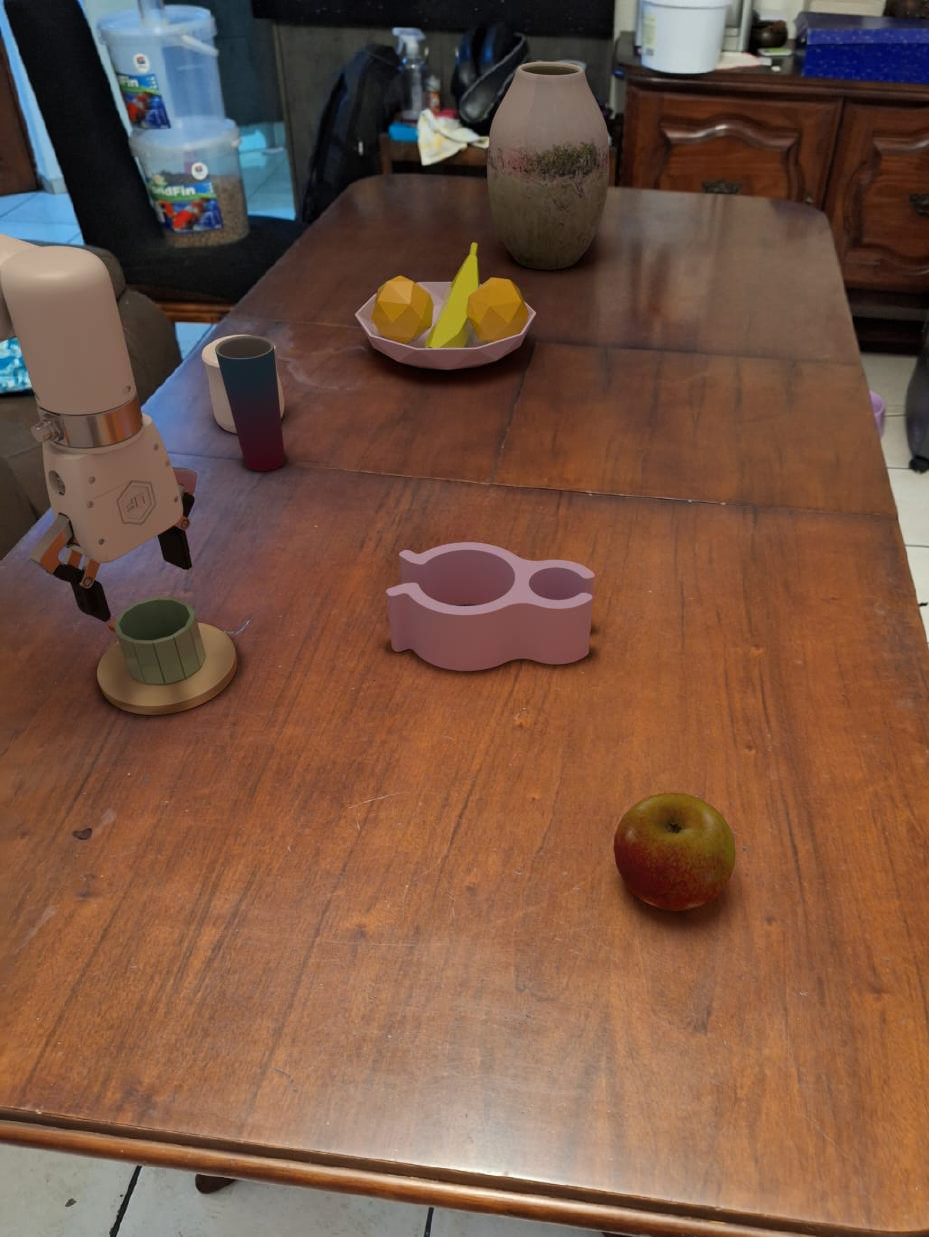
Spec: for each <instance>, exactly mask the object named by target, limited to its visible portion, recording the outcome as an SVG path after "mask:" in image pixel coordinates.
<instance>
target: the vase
mask: <svg viewBox="0 0 929 1237" xmlns="http://www.w3.org/2000/svg"><path fill="white" fill-rule="evenodd" d="M486 162H487V163H486V176H487V177H486V178H487V179H486V180H487V190H488V199H489V204H490V209H491V214H492V217H493V220H494V224H495V227H496V229H497V232H498V234H499V237H500V238H501V240H502V243H503V244H504V246H505V248H506V249H507V251H508V252H509V254H510V255H511V257H512V258H513V259H514V260H515V262H517V263H518V264H519V265H521V266H524V267H527V268H530V269H534V270H535V269H536V270H548V271H549V270H552V271H553V270H559V269H565V268H568V267H572V266H573V265H574V264H576V263H577V262H578V261H579V260H580V259H581V258H582V256H584V254H585V252H586V251H587V249H588V248H589V247H590V245H591V243H592V241H593V239H594V238H595V235H596V233H597V230H598V228H599V225H600V224H601V223H600V222H601V220H602V217H603V213H604V209H605V205H606V201H607V196H608V190H609V184H610V183H609V181H610V141H609V132H608V127H607V124H606V120H605V118H604V115H603V113H602V111H601V108H600V106H599V104H598V102H597V100H596V98H595V96H594V94H593V92H592V90H591V87H590V86H589V83H588V78H587V76H586V71H585V70H584V68H583V67H581V66H579V65H577V64H573V63H568V62H561V61H533V62H532V61H531V62H527V63H523V64H521V65H519V66H518V67H517V68H516V70H515V72H514V76H513V79H512V81H511V84H510V85H509V88H508V90H507V91H506V93H505V95H504V97H503V99H502V100H501V102H500V103H499V106H498V107H497V110H496V112H495V114H494V117H493V118H492V122H491V125H490V130H489V137H488V148H487V161H486Z"/></svg>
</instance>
